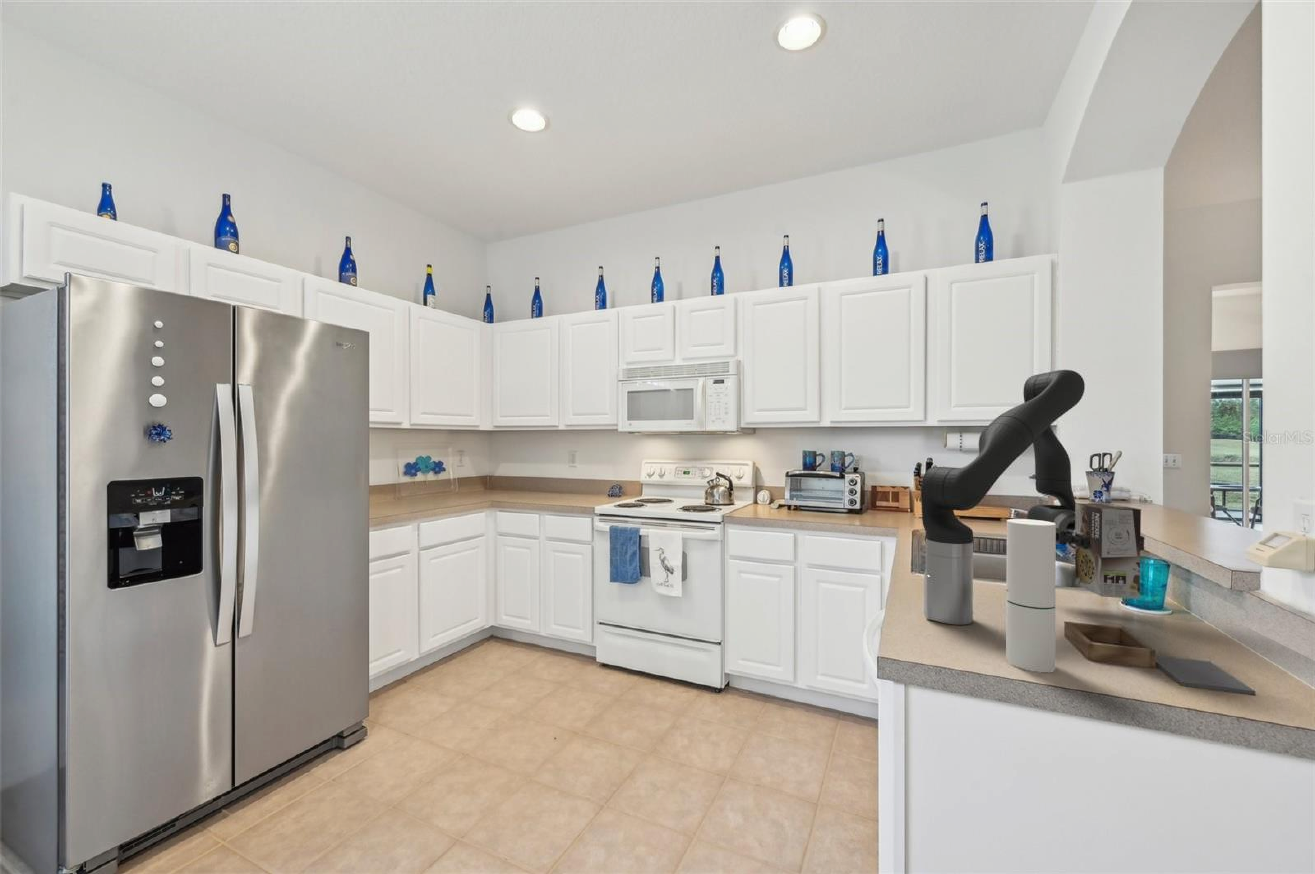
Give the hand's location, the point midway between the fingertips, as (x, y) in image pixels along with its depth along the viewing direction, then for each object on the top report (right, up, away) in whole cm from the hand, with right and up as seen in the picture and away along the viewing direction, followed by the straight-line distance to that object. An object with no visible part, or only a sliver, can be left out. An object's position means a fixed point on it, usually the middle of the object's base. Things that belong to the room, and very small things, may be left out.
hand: (1111, 545), depth 100 cm
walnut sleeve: (+1, -20, +2) cm, 20 cm away
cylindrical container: (-18, -20, -4) cm, 27 cm away
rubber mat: (+8, -20, -8) cm, 23 cm away
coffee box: (+1, -9, +2) cm, 10 cm away
